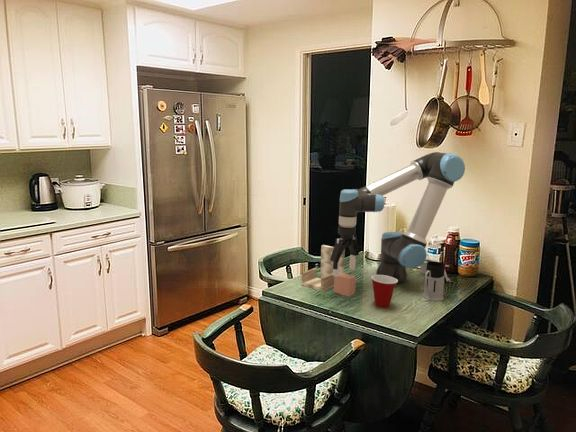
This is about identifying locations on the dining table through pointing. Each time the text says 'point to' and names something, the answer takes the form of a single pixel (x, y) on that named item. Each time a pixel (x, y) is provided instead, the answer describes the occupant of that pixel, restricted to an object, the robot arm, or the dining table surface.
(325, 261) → the wooden block stack
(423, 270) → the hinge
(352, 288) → the rail end
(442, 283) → the glass holder
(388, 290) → the plastic cup
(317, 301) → the dining table surface
